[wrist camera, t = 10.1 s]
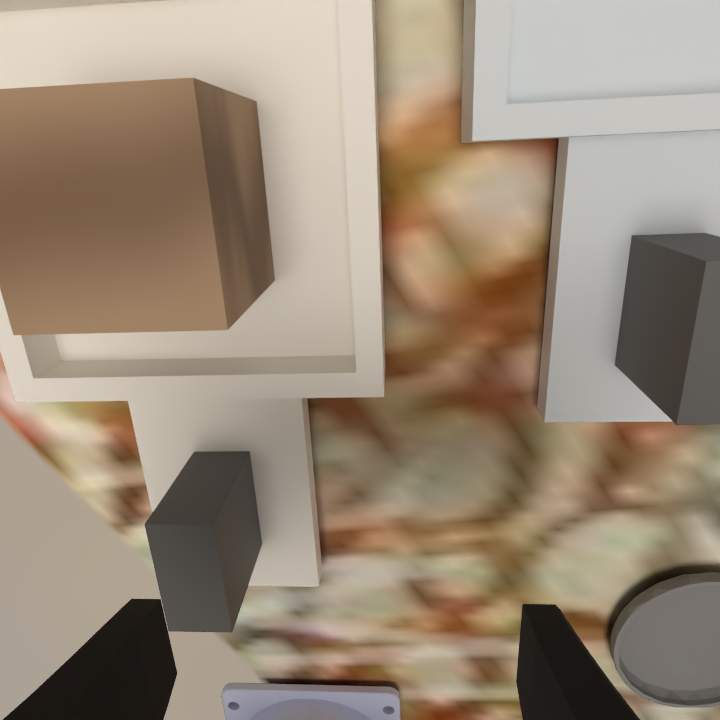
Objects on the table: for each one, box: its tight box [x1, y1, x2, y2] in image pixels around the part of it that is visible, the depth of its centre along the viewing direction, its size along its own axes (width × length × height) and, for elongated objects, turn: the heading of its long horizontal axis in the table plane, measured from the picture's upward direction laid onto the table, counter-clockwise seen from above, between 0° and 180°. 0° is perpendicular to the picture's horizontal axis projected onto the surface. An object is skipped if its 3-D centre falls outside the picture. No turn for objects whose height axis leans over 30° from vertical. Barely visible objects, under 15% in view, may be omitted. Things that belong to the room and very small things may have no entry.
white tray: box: [0, 0, 386, 632], centre depth 16 cm, size 20×12×5 cm, turn 3°
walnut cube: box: [0, 78, 275, 335], centre depth 14 cm, size 5×5×5 cm
